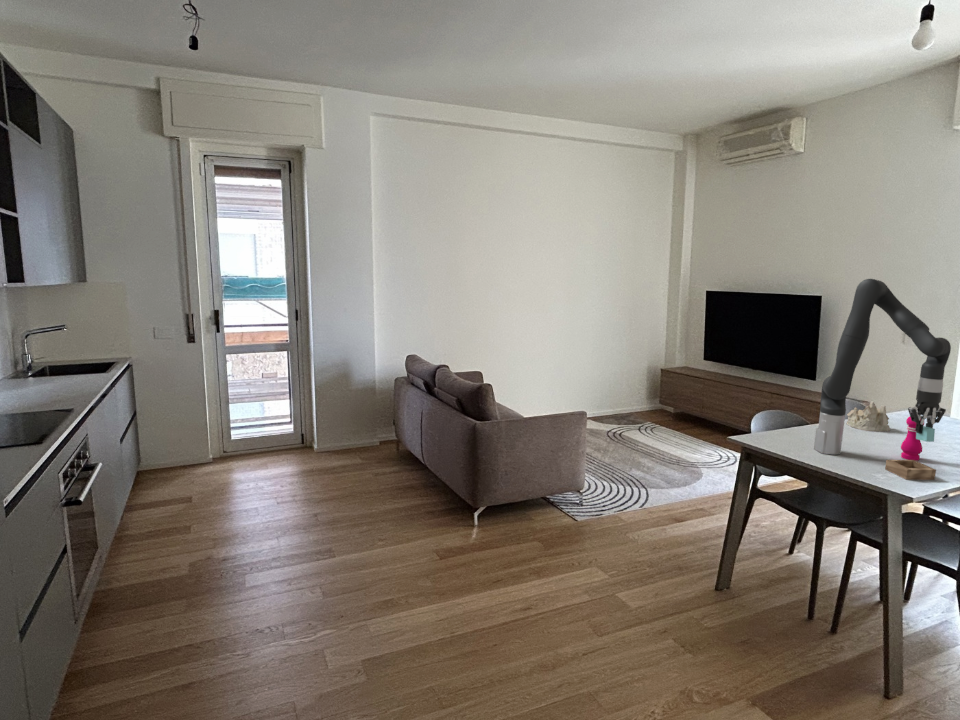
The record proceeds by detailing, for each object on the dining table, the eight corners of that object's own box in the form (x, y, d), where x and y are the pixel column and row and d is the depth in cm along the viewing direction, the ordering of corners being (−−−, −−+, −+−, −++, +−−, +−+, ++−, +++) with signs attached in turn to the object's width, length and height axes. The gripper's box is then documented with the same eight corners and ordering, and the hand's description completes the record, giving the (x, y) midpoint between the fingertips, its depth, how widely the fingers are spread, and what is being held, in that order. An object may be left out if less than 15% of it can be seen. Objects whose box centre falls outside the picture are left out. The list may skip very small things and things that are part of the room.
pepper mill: (895, 455, 243) (901, 410, 240) (911, 455, 243) (917, 410, 240) (908, 461, 236) (915, 414, 232) (925, 461, 236) (932, 414, 233)
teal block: (933, 441, 217) (934, 428, 217) (926, 441, 217) (927, 428, 217) (923, 438, 222) (924, 426, 222) (915, 438, 222) (916, 426, 222)
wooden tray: (906, 479, 215) (907, 469, 214) (885, 469, 226) (886, 459, 225) (934, 479, 215) (936, 469, 215) (912, 469, 226) (913, 459, 225)
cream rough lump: (895, 431, 278) (897, 401, 277) (862, 432, 278) (863, 402, 276) (873, 424, 294) (874, 396, 292) (841, 425, 293) (842, 397, 292)
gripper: (919, 391, 213) (913, 436, 216) (955, 391, 214) (949, 435, 217) (904, 387, 221) (898, 430, 223) (939, 387, 221) (933, 430, 224)
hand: (923, 432), depth 220 cm, fingers closed on teal block, 3 cm apart
